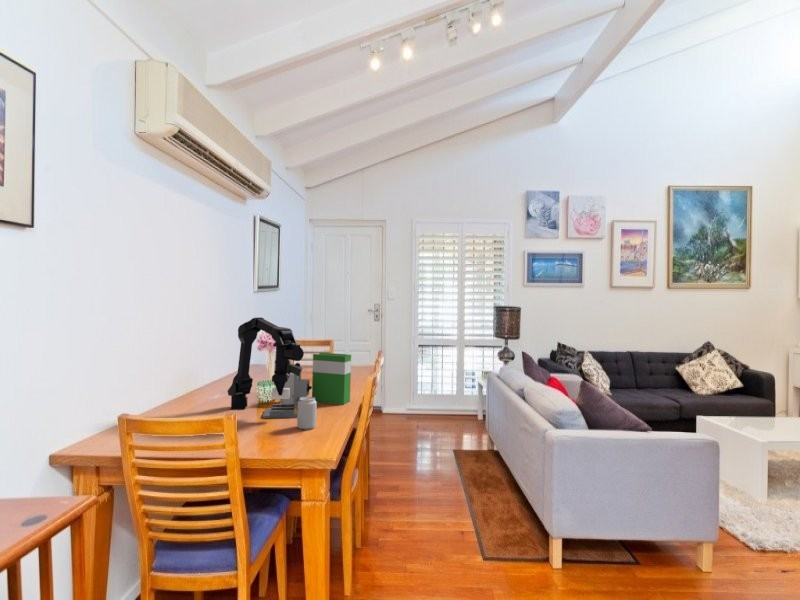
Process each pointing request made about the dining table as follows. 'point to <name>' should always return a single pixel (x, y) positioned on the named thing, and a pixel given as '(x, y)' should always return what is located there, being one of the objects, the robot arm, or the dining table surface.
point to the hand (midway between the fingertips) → (280, 394)
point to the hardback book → (331, 378)
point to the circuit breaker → (296, 389)
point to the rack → (281, 411)
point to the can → (306, 413)
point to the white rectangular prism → (284, 394)
